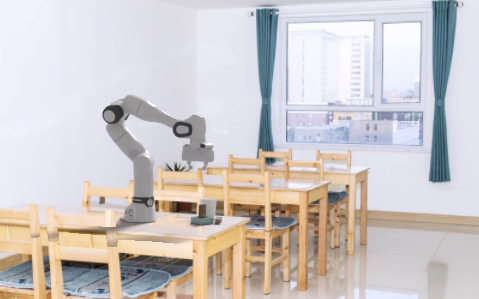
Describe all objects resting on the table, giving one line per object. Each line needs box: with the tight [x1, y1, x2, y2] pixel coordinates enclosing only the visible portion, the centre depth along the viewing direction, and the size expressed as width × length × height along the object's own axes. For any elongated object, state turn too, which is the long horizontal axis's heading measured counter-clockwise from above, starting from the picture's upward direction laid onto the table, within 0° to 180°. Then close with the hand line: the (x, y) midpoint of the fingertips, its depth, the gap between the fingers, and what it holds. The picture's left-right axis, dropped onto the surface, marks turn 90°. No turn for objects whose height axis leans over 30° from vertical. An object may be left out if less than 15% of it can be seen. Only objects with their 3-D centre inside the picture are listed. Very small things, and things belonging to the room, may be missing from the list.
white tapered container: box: [199, 197, 217, 221], centre depth 356 cm, size 10×10×12 cm
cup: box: [190, 215, 214, 226], centre depth 340 cm, size 9×9×4 cm
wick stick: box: [197, 203, 206, 219], centre depth 340 cm, size 3×3×10 cm
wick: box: [214, 216, 223, 225], centre depth 344 cm, size 10×3×3 cm, turn 177°
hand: (197, 169), depth 331 cm, fingers open, 8 cm apart
